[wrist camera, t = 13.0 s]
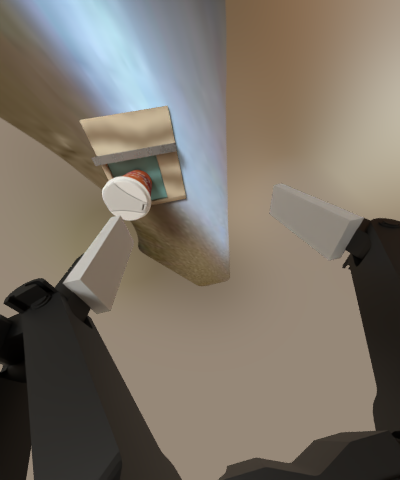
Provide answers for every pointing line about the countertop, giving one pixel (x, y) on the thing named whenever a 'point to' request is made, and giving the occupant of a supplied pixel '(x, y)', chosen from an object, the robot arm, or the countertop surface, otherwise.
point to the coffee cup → (129, 195)
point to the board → (135, 137)
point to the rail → (134, 154)
